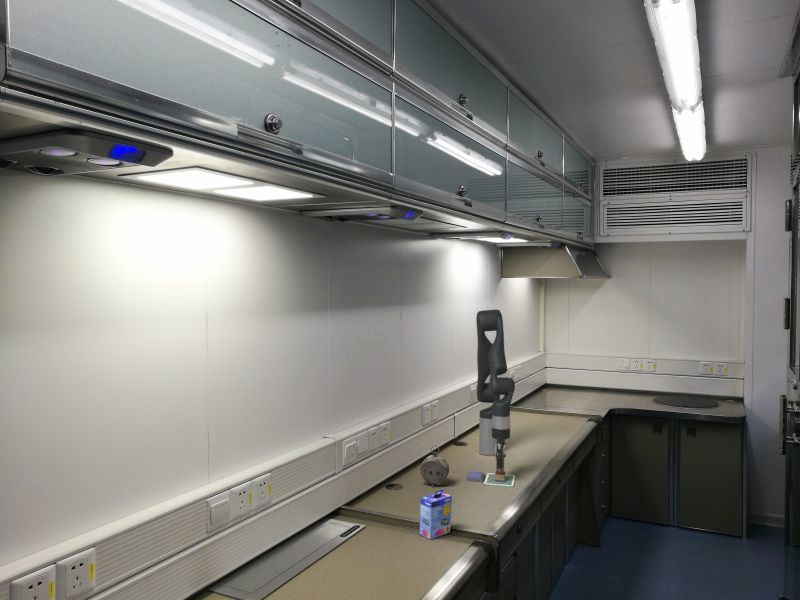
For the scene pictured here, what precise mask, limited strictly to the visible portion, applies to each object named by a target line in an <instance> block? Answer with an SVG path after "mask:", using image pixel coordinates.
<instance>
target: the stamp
mask: <svg viewBox="0 0 800 600" xmlns="http://www.w3.org/2000/svg"><path fill="white" fill-rule="evenodd" d="M498 456H501V454H498ZM494 457H495V459H496V454H495V455H494ZM506 457H507V454H506V453H504V455H503V460H502V469H497V459H496V465H495V467H496V469H495V472H494V474H495V475H494V480H495V481H497V482H504V480H505V477H506V475H507V473H506V471H505V458H506Z"/></svg>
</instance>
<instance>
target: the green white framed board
mask: <svg viewBox="0 0 800 600" xmlns="http://www.w3.org/2000/svg"><path fill="white" fill-rule="evenodd" d="M494 475H495V472H494V473H491V472H487V473H486V476H485V480H484V482H483V486H494V487H495V486H496V487H504V488H505V487H506V488H507V487H508V488H514V486H515V481H516V480H515V479H516V475H515V474H506V477H505V480H504V482H497V481H495V480H494Z"/></svg>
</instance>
